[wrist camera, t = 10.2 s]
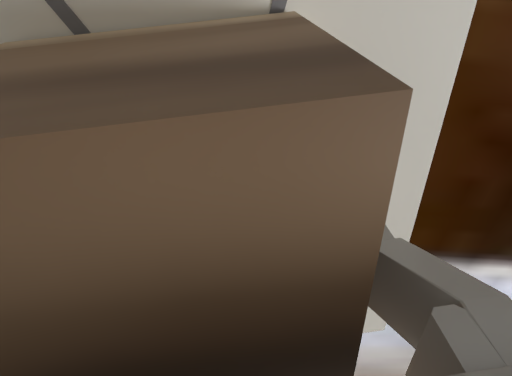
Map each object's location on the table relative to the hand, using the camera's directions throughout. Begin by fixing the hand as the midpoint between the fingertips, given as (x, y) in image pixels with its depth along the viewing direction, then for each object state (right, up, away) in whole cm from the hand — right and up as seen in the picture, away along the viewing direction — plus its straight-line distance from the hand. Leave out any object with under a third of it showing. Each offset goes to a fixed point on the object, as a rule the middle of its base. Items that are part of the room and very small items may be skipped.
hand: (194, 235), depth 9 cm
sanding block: (0, +1, +1) cm, 1 cm away
